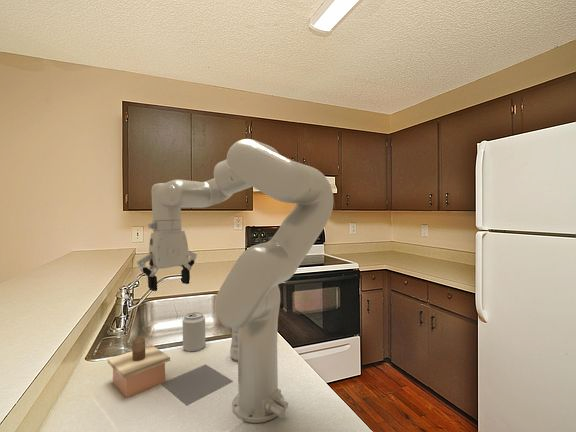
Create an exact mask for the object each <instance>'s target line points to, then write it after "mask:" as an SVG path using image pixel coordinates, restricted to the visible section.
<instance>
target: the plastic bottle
mask: <svg viewBox="0 0 576 432" xmlns="http://www.w3.org/2000/svg"><path fill="white" fill-rule="evenodd" d="M238 329H239V328H237V329H232V328H231V343H230V347H229V349H230V350H229V353H230V358H231V359H232V360H233V361H235V362H238Z"/></svg>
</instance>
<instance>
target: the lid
mask: <svg viewBox="0 0 576 432" xmlns="http://www.w3.org/2000/svg"><path fill="white" fill-rule="evenodd" d="M131 342H132V343H131V351H128V352H126V353H122V354H119V355H116V356H114V357H110V358H108V359H107V364H109V366H110V367H111V368H112V370H113V369H114V370H115V371H116V372H117V373H118V374H119V375H120V376H121V377H122V378H123V379H124V378H127V377H129V376H132V375H135V374H137V373H140V372H142V371H145V370H148V369H150V368H153V367H156V366H158V365H161V364H163V363H165V364H166V363H168V362H171V357H170V356H169V355H167V354H166V353H164V352H163V351H162V350H160V349H159V348H157V347H155V345H153V344H150V345H146V339H145V337H138V338H134V339H133V340H132V341H131Z"/></svg>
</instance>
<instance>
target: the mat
mask: <svg viewBox="0 0 576 432" xmlns="http://www.w3.org/2000/svg"><path fill="white" fill-rule="evenodd" d="M233 382H234V380H232V379H231V378H229V377H227V376H226V375H224V374H222V373H221V372H219V371H217V370H216V369H214V368H212V367H210V365H207V364H203V365H201V366H199V367H197V368H194V369H192V370H190V371H187V372H185V373H182V374H180V375H178V376H175V377H172V378H171V379H169V380H165V381H164V382H162V383H160V385H161V386H163V387H164V389H166V390H167V391H168V392H170V393H171V394H172V395H173V396H174V397H176V399H178V400H179V401H180V402H181V403H183V404H184V405H185V406H190V405H191V404H193V403H195V402H197V401H198V400H201V399H202V398H205V397H206V396H208V395H210V394H212V393H215V392H217V391H218V390H220V389H222V388H224V387H225V386H227V385H229V384H232V383H233Z"/></svg>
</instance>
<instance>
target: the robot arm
mask: <svg viewBox="0 0 576 432" xmlns="http://www.w3.org/2000/svg"><path fill="white" fill-rule="evenodd" d="M249 188H254V189H256V190H258V191H259V192H261V193H262V194H265V195H266V196H268V197H270V198H272V199H274V200H275V201H278V202H280V203H284V204H285V203H286V204H296V205H295V206H294V208H293V209H292V211H291V212H290V213H288V215H287V216H286V217H285V218H284V219H283V221H282V222H281V224H280V226H279V228H278V230H277V231H276V232H275V233H274V235H273V236H272V238H271V239H270V240H269V241H266V242H262V243H258V244H254V245H252V246H249V247H248V248H247V249H245V250H244V251H243V252H242V253H241V255H239V257H238V258H237V260H236V262H235V263H234V265H233V266H232V268H231V269H230V271H229V273H228V275H227V276H226V278H225V279H224V281H223V283H222V284H221V286H220V288H219V290H218V291H217V294H216V296H215V300H214V312H215V316H216V319H217V320H218V322H219V323H220V324H221V325H222V326H224V327H226V328H228V329H231V330H232V329H237V328H239V329H238V361H237V369H238V370H237V371H238V372H237V373H238V375H237V376H238V377H237V378H238V384H237V385H238V393H237V394H236V395H235V396H234V397H233V399H232V401H231V402H232V403H231V410H232V412H233V414H234V415H235V416H236V417H237V418H238V419H240V420H241V421H243V422H246V423H252V424H258V423H264V422H268V421H271V420H273V419H275V418H276V417H278V418H279V419H283V417H284V416H285V415H286V409H287V408H288V406H289V403H288V402H287V401H286V400H285V397H284V396H283V394H282V390H281V389H279V388H278V387H279V383H278V381H279V380H278V379H279V377H278V375H279V374H278V370H279V369H278V324H279V323H278V322H279V321H278V320H279V313H280V305H281V291H280V286H279V285H280V284H282V283H284V282H286V281H289V280H290V279H291V278H292V277H293V276H294V275H295V273H296V272H297V270H298V268H299V267H300V265H301V263H302V262H303V261H304V259H305V258H306V256H307V255H308V253H309V252H310V250H311V249H312V247H313V246H314V244H315V242H316V241H317V239H318V238H319V237H320V235H321V233H322V232H323V230H324V229H325V228H326V226H327V224H328V222H329V219H330V218H331V216H332V213H333V208H334V201H335V200H334V198H335V197H334V193H333V189H332V186H331V184H330V182H329V180H328V178H327V176H326V175H324V173H323V172H322V171H320V170H319V169H317V168H315V167H313V166H311V165H307V164H304V163H301V162H298V161H294V160H293V159H291V158H287V157H285V156H284V155H281V154H280V153H279V151H277V150H276V148H274V147H272V145H271V146H270V145H269V144H266V143H264V142H261V141H258V140H255V139H252V138H251V139H250V138H243V139H240V140H237V141H236V142H234V143H233V144H232V145H231V146H230V148H229V149H228V151H227V154H226V159H223V160H222V161H219V162H218V163H216V164H215V165H214V169H213V178H211V179H208V180H205V181H196V180H187V179H186V180H185V179H173V180H169V181H168V182H160V183H159V182H158V183H155V184H153V185H152V186H151V209H152V210H151V211H152V214H151V215H152V222H151V223H148V225H147V227H148V229H152V231H153V232H151V233H150V237H149V245H148V254H146V256H144V257H142V258H141V259H138V260H137V261H136V264H137V266H138V267H139V269H140V271H141V272H142V273H143V274H144V275H145V276H146V277H147V287H148V289H149V291H151V292H152V291H153V292H157V291H158V276H156V273H157V272H158V271H159V270H160V269H167V268H174V267H181V268H182V269H181V270H180V272H181V274H180V275H181V283H182V284H183V285H184V284H185V285H188V284H190V280H191V275H190V273H191V270H192V267H193V265H194V264H195V260H196V258H197V256H198V255H197V253H195V252H193V251H190V250H189V245H188V240H187V239H188V238H187V235H186V232H185V230H182V213H181V212H182V208H193V209H194V208H195V209H196V208H197V209H200V208H201V209H203V208H208V207H211V206H214V205H217V204H221V203H223V202H225V201H227V200H229V199H230V198H231V197H232V196H233V194H236V193H239V192H242V191H244V190H247V189H249ZM147 262H148V264H149V267H147V266H146V264H147Z"/></svg>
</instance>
